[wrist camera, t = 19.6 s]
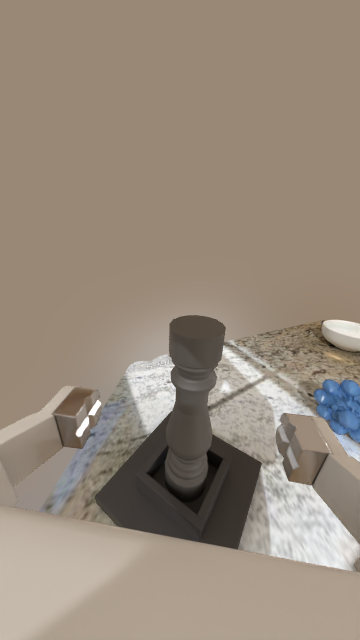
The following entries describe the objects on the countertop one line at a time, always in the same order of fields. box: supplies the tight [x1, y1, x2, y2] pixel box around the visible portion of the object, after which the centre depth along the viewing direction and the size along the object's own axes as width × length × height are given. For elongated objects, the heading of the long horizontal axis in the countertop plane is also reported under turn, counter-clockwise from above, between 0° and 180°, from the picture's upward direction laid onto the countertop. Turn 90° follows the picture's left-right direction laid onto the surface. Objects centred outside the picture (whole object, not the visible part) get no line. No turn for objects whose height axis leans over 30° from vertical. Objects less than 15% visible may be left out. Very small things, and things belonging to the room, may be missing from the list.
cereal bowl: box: [322, 320, 360, 352], centre depth 72 cm, size 17×17×7 cm
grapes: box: [314, 379, 360, 443], centre depth 37 cm, size 12×7×12 cm, turn 50°
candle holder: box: [165, 315, 225, 502], centre depth 26 cm, size 6×6×25 cm
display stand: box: [95, 411, 262, 549], centre depth 30 cm, size 18×18×4 cm
